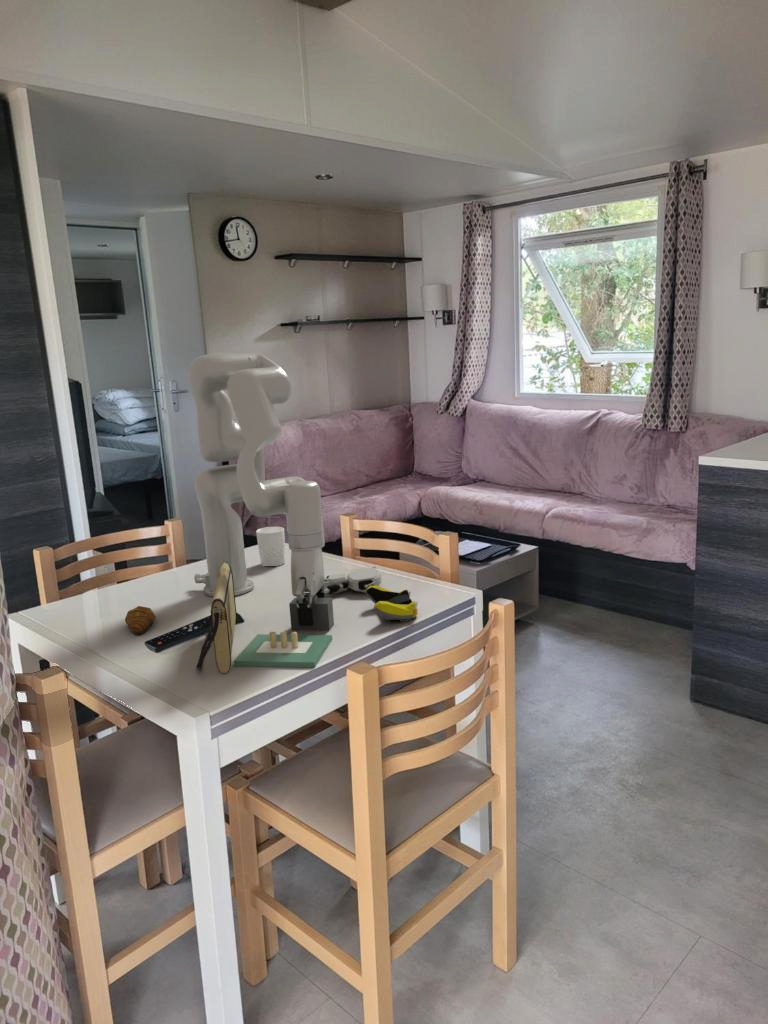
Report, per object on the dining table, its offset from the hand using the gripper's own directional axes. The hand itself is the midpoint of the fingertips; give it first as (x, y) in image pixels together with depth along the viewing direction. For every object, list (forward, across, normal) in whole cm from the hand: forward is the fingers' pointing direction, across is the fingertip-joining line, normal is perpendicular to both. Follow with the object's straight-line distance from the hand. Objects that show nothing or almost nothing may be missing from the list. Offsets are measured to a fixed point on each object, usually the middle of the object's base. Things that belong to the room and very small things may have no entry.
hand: (312, 617), depth 165 cm
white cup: (+2, -50, -25) cm, 56 cm away
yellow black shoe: (+3, -9, +16) cm, 18 cm away
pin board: (+2, +14, -2) cm, 14 cm away
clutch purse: (+3, +13, -16) cm, 21 cm away
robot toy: (+3, -26, +3) cm, 26 cm away
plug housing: (+2, 0, 0) cm, 2 cm away
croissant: (+2, 0, -40) cm, 40 cm away
